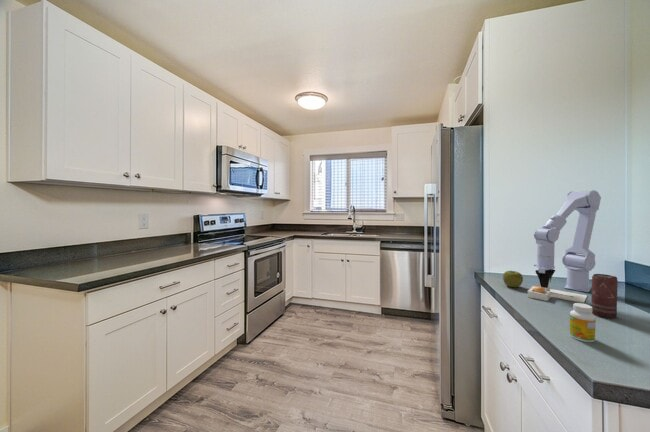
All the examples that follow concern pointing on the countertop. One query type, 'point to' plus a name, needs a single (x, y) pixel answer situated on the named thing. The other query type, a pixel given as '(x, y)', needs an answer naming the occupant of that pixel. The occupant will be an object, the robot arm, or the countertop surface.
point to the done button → (539, 289)
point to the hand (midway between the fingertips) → (545, 286)
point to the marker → (547, 287)
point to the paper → (567, 295)
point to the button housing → (539, 295)
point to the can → (604, 296)
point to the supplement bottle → (582, 323)
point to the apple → (512, 278)
